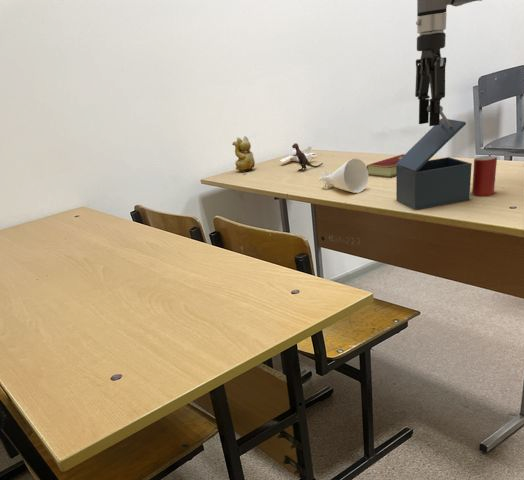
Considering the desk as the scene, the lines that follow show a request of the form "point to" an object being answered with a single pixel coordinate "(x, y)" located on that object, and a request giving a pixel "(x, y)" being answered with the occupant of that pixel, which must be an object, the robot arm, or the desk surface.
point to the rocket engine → (348, 176)
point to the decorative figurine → (243, 155)
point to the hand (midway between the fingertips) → (428, 124)
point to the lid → (430, 143)
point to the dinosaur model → (302, 158)
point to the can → (484, 175)
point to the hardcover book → (384, 167)
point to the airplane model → (295, 158)
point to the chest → (434, 183)
